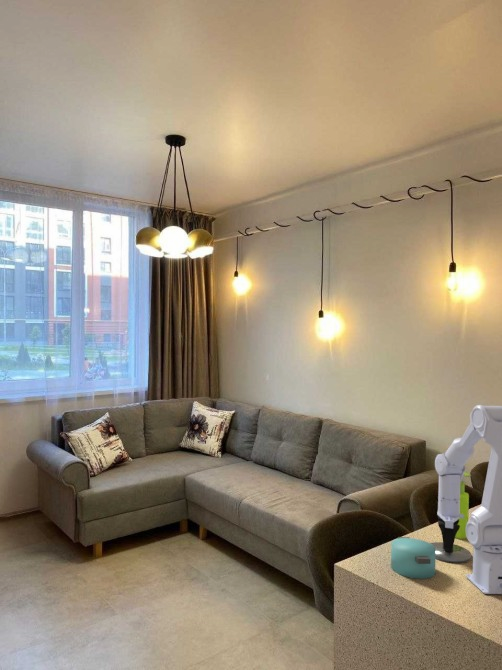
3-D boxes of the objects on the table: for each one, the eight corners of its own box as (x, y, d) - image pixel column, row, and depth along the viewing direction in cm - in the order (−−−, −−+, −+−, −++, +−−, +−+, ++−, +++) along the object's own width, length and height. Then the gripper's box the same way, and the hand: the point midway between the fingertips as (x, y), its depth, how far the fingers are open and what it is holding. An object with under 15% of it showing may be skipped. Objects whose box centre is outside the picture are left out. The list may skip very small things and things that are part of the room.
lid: (479, 563, 136) (479, 548, 136) (436, 562, 135) (436, 547, 135) (458, 545, 148) (458, 532, 148) (418, 545, 147) (419, 531, 147)
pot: (445, 582, 124) (445, 557, 124) (401, 581, 123) (402, 557, 124) (422, 557, 138) (423, 536, 138) (383, 557, 138) (383, 535, 138)
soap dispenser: (460, 541, 152) (461, 474, 152) (443, 533, 158) (444, 469, 159) (474, 538, 154) (476, 473, 155) (457, 531, 160) (459, 468, 161)
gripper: (465, 506, 134) (464, 558, 133) (463, 492, 147) (462, 539, 147) (437, 502, 136) (436, 553, 136) (437, 489, 150) (436, 535, 149)
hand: (448, 545), depth 142 cm, fingers closed on lid, 3 cm apart
